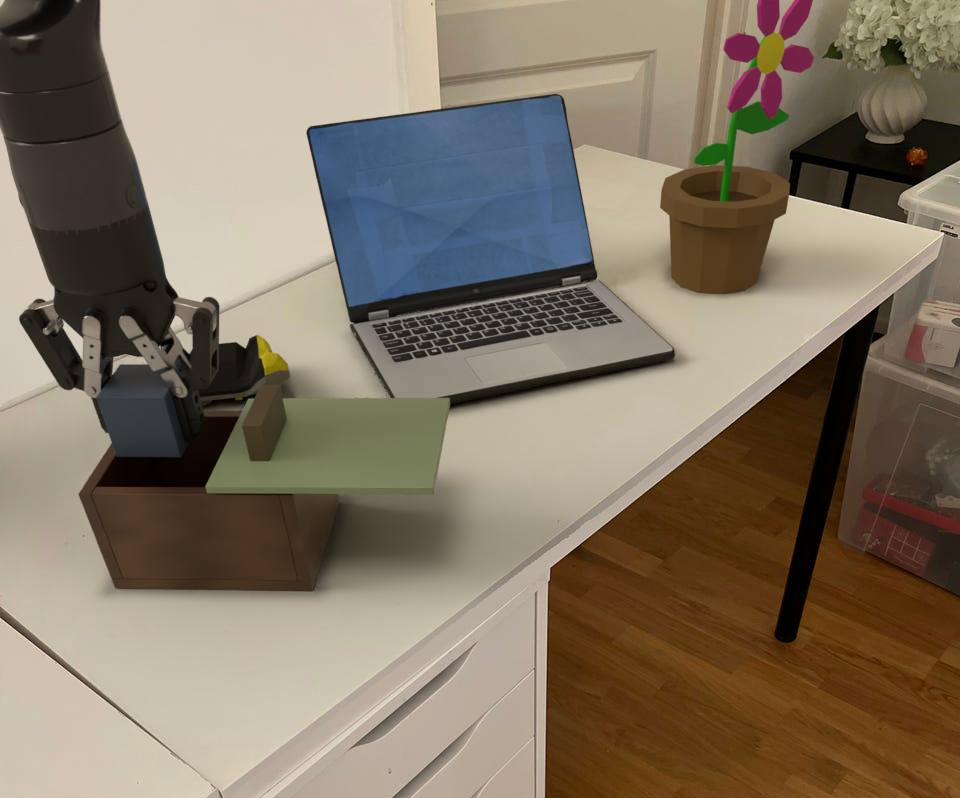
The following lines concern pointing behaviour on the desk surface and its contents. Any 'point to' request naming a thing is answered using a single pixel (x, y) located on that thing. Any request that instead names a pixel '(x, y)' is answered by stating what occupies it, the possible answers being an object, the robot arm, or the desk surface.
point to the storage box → (202, 522)
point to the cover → (332, 446)
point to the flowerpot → (736, 169)
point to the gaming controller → (243, 370)
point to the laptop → (471, 251)
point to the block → (141, 414)
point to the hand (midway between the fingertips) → (156, 434)
